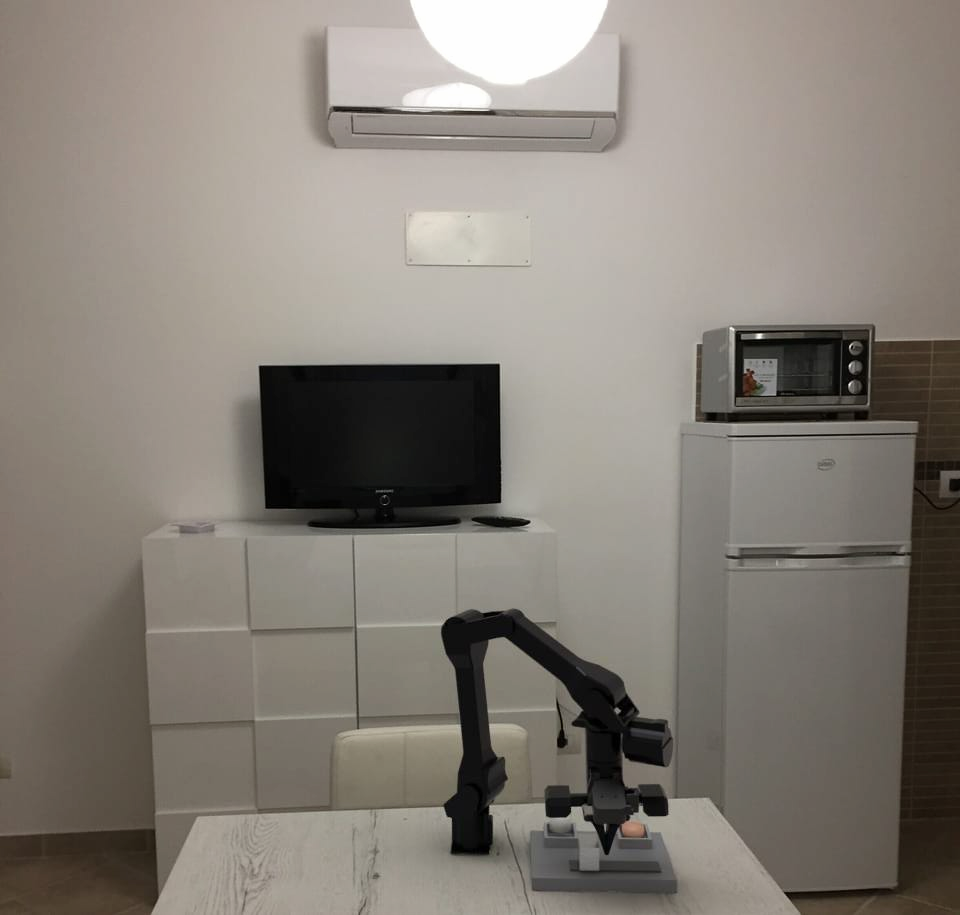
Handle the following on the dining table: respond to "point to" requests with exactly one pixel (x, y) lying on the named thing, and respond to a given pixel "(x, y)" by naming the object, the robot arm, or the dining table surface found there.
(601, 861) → the panel
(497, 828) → the dining table surface
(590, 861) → the rough gray brick
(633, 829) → the terracotta button
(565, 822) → the grey button
